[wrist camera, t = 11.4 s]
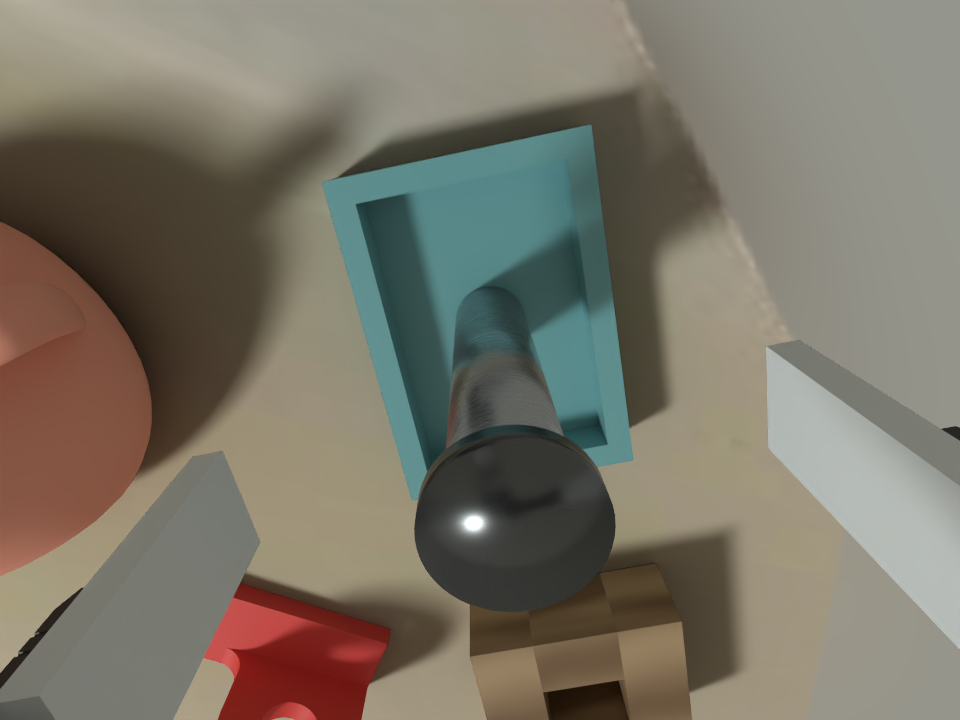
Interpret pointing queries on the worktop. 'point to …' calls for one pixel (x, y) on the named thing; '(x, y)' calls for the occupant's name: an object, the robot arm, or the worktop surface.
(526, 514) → the pin
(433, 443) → the tray
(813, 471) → the robot arm
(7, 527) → the teapot
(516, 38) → the worktop surface
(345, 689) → the bracket
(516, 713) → the block
